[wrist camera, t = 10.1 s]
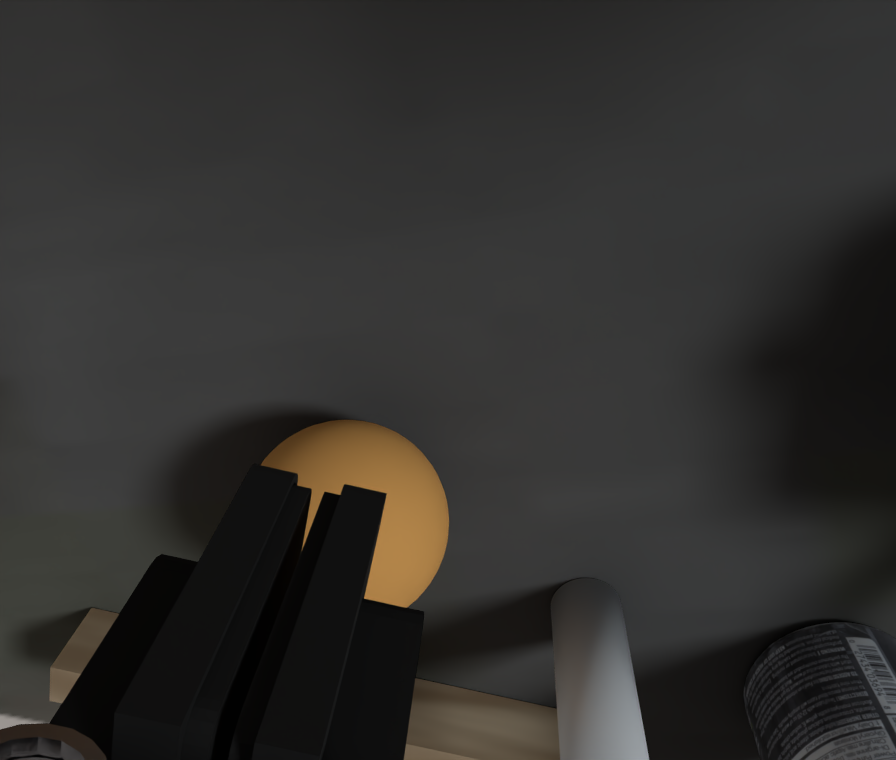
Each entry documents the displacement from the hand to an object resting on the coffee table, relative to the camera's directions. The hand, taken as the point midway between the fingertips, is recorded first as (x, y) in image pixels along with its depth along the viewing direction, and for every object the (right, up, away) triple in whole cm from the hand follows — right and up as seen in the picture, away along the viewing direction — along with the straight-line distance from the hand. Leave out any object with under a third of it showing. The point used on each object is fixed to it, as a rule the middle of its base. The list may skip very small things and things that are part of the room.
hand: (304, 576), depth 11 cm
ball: (-1, -2, +14) cm, 14 cm away
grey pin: (+7, -5, +18) cm, 20 cm away
